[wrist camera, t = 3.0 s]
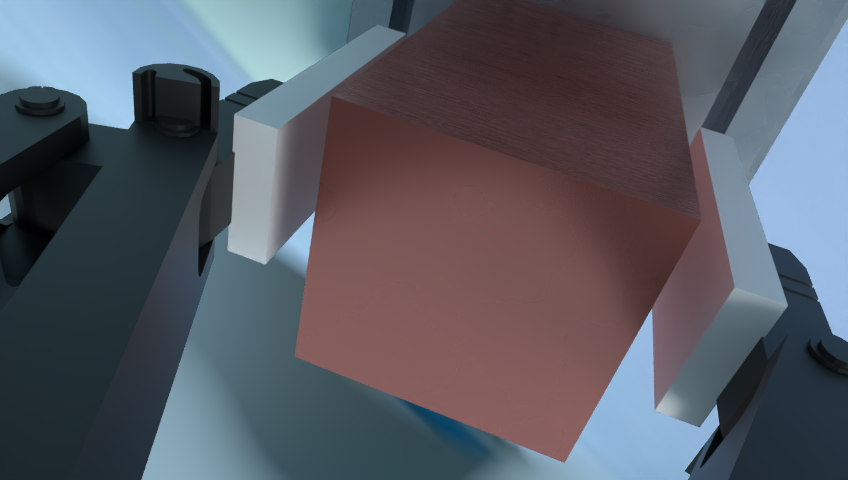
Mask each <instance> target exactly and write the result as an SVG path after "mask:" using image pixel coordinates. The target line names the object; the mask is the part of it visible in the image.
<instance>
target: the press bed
mask: <svg viewBox="0 0 848 480" xmlns="http://www.w3.org/2000/svg"><path fill="white" fill-rule="evenodd" d="M414 1H415V0H353V4H352V11H351V18H350V25H349V31H348V38H347V43H349V42H351V41H352V40H354V39H355V38H357V37H359V36H360V35H362V34H363V33H365V32H367V31H368V30H370V29H371V28H373V27H374V26H376V25H380V26H383V27H386V28H390V29H393V30H396V31H399V32H402V33H405V34H406V38H405V40H406V39H407V35H408V30H409V25H410V20H411V15H412V10H413V6H414ZM847 18H848V0H766V2H765V4H764V6H763V8H762V10H761V12H760V13H759V15H758V17H757V19H756V21H755V23H754V25H753V27H752V29H751V31H750V33H749V35H748V37H747V39H746V41H745V43H744V45H743V47H742V49H741V51H740V53H739V54H738V56H737V58H736V60H735V62H734V64H733V66H732V68H731V70H730V72H729V74H728V76H727V78H726V80H725V82H724V84H723V86H722V88H721V90H720V92H719V93H718V95H717V97H716V99H715V101H714V103H713V105H712V107H711V109H710V111H709V113H708V115H707V117H706V119H705V121H704V123H703V125H702V128H705V129H708V130H712V131H715V132H718V133H721V134H724V135H727V136H731V137H733V139H734V142H735V145H736V148H737V152H738V155H739V158H740V161H741V164H742V167H743V170H744V173H745V176H746V179H747V182H748V185H749V183H750V182H751V180H752V178H753V177H754V175H755V173H756V172H757V170H758V168H759V167H760V165H761V163H762V161H763V160H764V158H765V156H766V155H767V153H768V151H769V150H770V148H771V146H772V145H773V143H774V141H775V140H776V138H777V136H778V135H779V133H780V131H781V129H782V128H783V126H784V124H785V123H786V121H787V119H788V118H789V116H790V114H791V113H792V111H793V109H794V108H795V106H796V104H797V102H798V101H799V99H800V97H801V96H802V94H803V92H804V91H805V89H806V87H807V86H808V84H809V82H810V81H811V79H812V77H813V76H814V74H815V72H816V70H817V69H818V67H819V65H820V64H821V62H822V60H823V59H824V57H825V55H826V54H827V52H828V50H829V49H830V47H831V45H832V43H833V42H834V40H835V38H836V37H837V35H838V33H839V32H840V30H841V28H842V27H843V25H844V23H845V22H846V20H847Z"/></svg>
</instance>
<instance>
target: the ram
mask: <svg viewBox="0 0 848 480" xmlns="http://www.w3.org/2000/svg"><path fill="white" fill-rule="evenodd" d="M765 2H766V0H415V1H414V6H413V10H412V15H411V20H410V25H409V30H408V35H407V39H406V40H405V41H403V42H402V43H401V44H399V45H398V46H397V47H395V48H394V49H393V50H392V51H390V52H389V53H388V54H386V55H385V56H384V57H382V58H381V59H380V60H378V61H377V62H376V63H375V64H373V65H372V66H371V67H369V68H368V69H367V70H365V71H364V72H363V73H361V74H360V75H359V76H357V77H356V78H355V79H354V80H352V81H351V82H350V83H348V84H347V85H346V86H344V87H343V88H342V89H340V90H339V91H338V92H337V93H335V94H334V95H333V96H332V97H331V104H330V111H329V119H328V126H327V133H326V140H325V147H324V154H323V161H322V168H321V175H320V182H319V189H318V196H317V203H316V210H315V217H314V224H313V232H312V239H311V246H310V253H309V260H308V267H307V274H306V281H305V288H304V295H303V302H302V310H301V316H300V323H299V330H298V337H297V345H296V352H295V357H297V358H299V359H302V360H304V361H307V362H309V363H312V364H314V365H317V366H320V367H322V368H325V369H327V370H330V371H332V372H335V373H337V374H340V375H342V376H345V377H348V378H350V379H353V380H355V381H358V382H360V383H363V384H365V385H368V386H371V387H373V388H376V389H378V390H381V391H383V392H386V393H388V394H391V395H393V396H396V397H399V398H401V399H404V400H406V401H409V402H411V403H414V404H416V405H419V406H421V407H424V408H427V409H429V410H432V411H434V412H437V413H439V414H442V415H444V416H447V417H449V418H452V419H455V420H457V421H460V422H462V423H465V424H467V425H470V426H472V427H475V428H477V429H480V430H483V431H485V432H488V433H490V434H493V435H495V436H498V437H500V438H503V439H505V440H508V441H511V442H513V443H516V444H518V445H521V446H523V447H526V448H528V449H531V450H533V451H536V452H539V453H541V454H544V455H546V456H549V457H551V458H554V459H556V460H559V461H561V462H564V463H565V461H566V459H567V457H568V456H569V454H570V452H571V450H572V449H573V447H574V445H575V443H576V441H577V440H578V438H579V436H580V434H581V433H582V431H583V429H584V427H585V426H586V424H587V422H588V420H589V418H590V417H591V415H592V413H593V411H594V410H595V408H596V406H597V404H598V403H599V401H600V399H601V397H602V395H603V394H604V392H605V390H606V388H607V387H608V385H609V383H610V381H611V379H612V378H613V376H614V374H615V372H616V371H617V369H618V367H619V365H620V364H621V362H622V360H623V358H624V356H625V355H626V353H627V351H628V349H629V348H630V346H631V344H632V342H633V341H634V339H635V337H636V335H637V333H638V332H639V330H640V328H641V326H642V325H643V323H644V321H645V319H646V318H647V316H648V314H649V312H650V310H651V309H652V307H653V305H654V303H655V302H656V300H657V298H658V296H659V294H660V293H661V291H662V289H663V287H664V286H665V284H666V282H667V280H668V279H669V277H670V275H671V273H672V271H673V270H674V268H675V266H676V264H677V263H678V261H679V259H680V257H681V256H682V254H683V252H684V250H685V248H686V247H687V245H688V243H689V241H690V240H691V238H692V236H693V234H694V232H695V231H696V229H697V227H698V225H699V224H700V222H701V214H700V208H699V202H698V196H697V190H696V184H695V178H694V172H693V166H692V160H691V154H690V148H689V147H690V145H691V143H692V141H693V139H694V137H695V135H696V133H697V131H698V130H699V128H700V127H702V125H703V123H704V121H705V119H706V117H707V115H708V113H709V111H710V109H711V107H712V105H713V103H714V101H715V99H716V97H717V95H718V93H719V92H720V90H721V88H722V86H723V84H724V82H725V80H726V78H727V76H728V74H729V72H730V70H731V68H732V66H733V64H734V62H735V60H736V58H737V56H738V54H739V53H740V51H741V49H742V47H743V45H744V43H745V41H746V39H747V37H748V35H749V33H750V31H751V29H752V27H753V25H754V23H755V21H756V19H757V17H758V15H759V13H760V12H761V10H762V8H763V6H764V4H765Z"/></svg>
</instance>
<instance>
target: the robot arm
mask: <svg viewBox="0 0 848 480" xmlns="http://www.w3.org/2000/svg"><path fill="white" fill-rule="evenodd" d="M405 38H406V34H405V33H402V32H399V31H396V30H393V29H390V28H386V27H383V26H380V25H376V26H374V27H373V28H371V29H370V30H368V31H367V32H365V33H363V34H362V35H360V36H359V37H357V38H355V39H354V40H352V41H351V42H349V43H347V44H346V45H344V46H343V47H341V48H339V49H338V50H336V51H335V52H333V53H331V54H330V55H328V56H327V57H325V58H323V59H322V60H320V61H319V62H317V63H315V64H314V65H312V66H311V67H309V68H307V69H306V70H304V71H303V72H301V73H299V74H298V75H296V76H295V77H293V78H291V79H290V80H288V81H287V82H285V83H283V82H280V81H277V80H274V79H269V80H264V81H259V82H253V83H250V84H248V85H247V86H245V87H243V88H241V89H240V90H238V91H237V92H236V93H233V94H231V95H229V96H227V97H226V98H225V100H223V99H222V100H220V101H219V93H220V82H219V80H218V79H217V78H216V77H215V76H214V75H213V74H211V73H209V72H207V71H205V70H203V69H200V68H196V67H192V66H188V65H181V64H171V63H167V64H152V65H148V66H144V67H140V68H139V69H137V70H136V71H134V72H132V74H133V95H134V115H135V121H134V122H133V124H132V125H131V126H130V128H129V129H120V128H114V127H108V126H102V125H96V124H90V123H88V115H87V104H86V102H85V101H84V100H83V99H82V98H81V97H80V96H78V95H75V94H73V93H70V92H68V91H63V90H58V89H55V88H53V87H44V86H43V88H41V86H33V87H29V88H26V89H18V90H13V91H10V92H7V93H4V94H1V95H0V201H1V200H2V199H3V198H4V197H5V196H6V195H7V194H8V197H9V202H10V207H11V213H10V214H8V215H7V216H5V217H4V218H3V219H0V480H141V479H142V476H143V473H144V470H145V466H146V463H147V461H148V457H149V454H150V451H151V448H152V445H153V442H154V439H155V436H156V433H157V430H158V427H159V424H160V421H161V418H162V415H163V412H164V409H165V406H166V402H167V399H168V396H169V393H170V390H171V387H172V384H173V381H174V378H175V375H176V372H177V369H178V366H179V363H180V360H181V357H182V354H183V350H184V347H185V344H186V341H187V338H188V335H189V332H190V329H191V326H192V323H193V320H194V317H195V314H196V311H197V308H198V305H199V301H200V298H201V295H202V292H203V289H204V286H205V283H206V280H207V277H208V274H209V271H210V268H211V265H212V262H213V258H214V241H215V240H214V239H215V237H216V236H217V235H218V234H219V233H220V232H221V231H223V229H225V228H226V227H227V226H228V225H229V235H228V251H231V252H234V253H236V254H239V255H242V256H245V257H247V258H250V259H252V260H255V261H258V262H260V263H263V264H266V263H267V262H268V261H269V260H270V259H271V258H272V256H273V255H274V254H275V253H276V252H277V251H278V250H279V249H280V248H281V247H282V246H283V245H284V244H285V243H286V241H287V240H288V239H289V238H290V237H291V236H292V235H293V234H294V233H295V232H296V231H297V230H298V229H299V227H300V226H301V225H302V224H303V223H304V222H305V221H306V220H307V219H308V218H309V217H310V216H311V215H312V213H313V212H314V211H315V210H316V203H317V196H318V189H319V182H320V175H321V168H322V161H323V154H324V147H325V140H326V133H327V126H328V119H329V111H330V104H331V97H332V96H333V95H334V94H335V93H337V92H338V91H339V90H340V89H342V88H343V87H344V86H346V85H347V84H348V83H350V82H351V81H352V80H354V79H355V78H356V77H357V76H359V75H360V74H361V73H363V72H364V71H365V70H367V69H368V68H369V67H371V66H372V65H373V64H375V63H376V62H377V61H378V60H380V59H381V58H382V57H384V56H385V55H386V54H388V53H389V52H390V51H392V50H393V49H394V48H395V47H397V46H398V45H399V44H401V43H402V42H403V41H405ZM689 148H690V154H691V160H692V166H693V172H694V178H695V184H696V190H697V196H698V202H699V208H700V214H701V222H700V224H699V225H698V227H697V229H696V231H695V232H694V234H693V236H692V238H691V240H690V241H689V243H688V245H687V247H686V248H685V250H684V252H683V254H682V256H681V257H680V259H679V261H678V263H677V264H676V266H675V268H674V270H673V271H672V273H671V275H670V277H669V279H668V280H667V282H666V284H665V286H664V287H663V289H662V291H661V293H660V294H659V296H658V298H657V300H656V302H655V303H654V305H653V307H652V315H653V357H654V399H655V411H657V412H660V413H662V414H665V415H668V416H670V417H673V418H676V419H678V420H681V421H684V422H686V423H689V424H692V425H694V426H697V427H700V426H701V425H702V423H703V422H704V420H705V419H706V418H707V416H708V415H709V414H710V412H711V411H712V409H713V408H714V407H715V405H716V404H717V409H718V416H719V423H720V425H719V426H718V427H717V429H716V430H715V431H714V433H713V434H712V435H711V437H710V438H709V439H708V441H707V442H706V443H705V445H704V446H703V447H702V449H701V450H700V451H699V453H698V454H697V455H696V457H695V458H694V459H693V461H692V462H691V463H690V465H689V466H688V467H687V469H686V470H685V472H687V473H688V474H690V477H689V479H688V480H848V342H846V341H845V340H843V339H842V338H840V337H838V336H835V335H833V334H832V332H831V329H830V327H829V324H828V322H827V319H826V317H825V314H824V312H823V309H822V307H821V304H820V302H818V301H817V300H818V297H817V294H816V292H815V289H814V288H812V285H813V284H812V282H811V279H810V277H809V274H808V272H807V269H806V268H805V267H804V266H803V264H802V263H801V262H800V261H799V260H798V259H797V258H796V257H795V256H794V255H793V254H792V253H791V251H790V250H787V249H784V248H781V247H778V246H775V245H772V244H769V243H767V240H766V237H765V234H764V231H763V228H762V225H761V222H760V219H759V216H758V212H757V209H756V206H755V203H754V200H753V197H752V194H751V191H750V188H749V185H748V182H747V179H746V176H745V173H744V170H743V167H742V164H741V161H740V158H739V155H738V152H737V148H736V145H735V142H734V139H733V137H731V136H727V135H724V134H721V133H718V132H715V131H712V130H708V129H705V128H702V127H700V128H699V130H698V131H697V133H696V135H695V137H694V139H693V141H692V143H691V145H690V147H689Z"/></svg>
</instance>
